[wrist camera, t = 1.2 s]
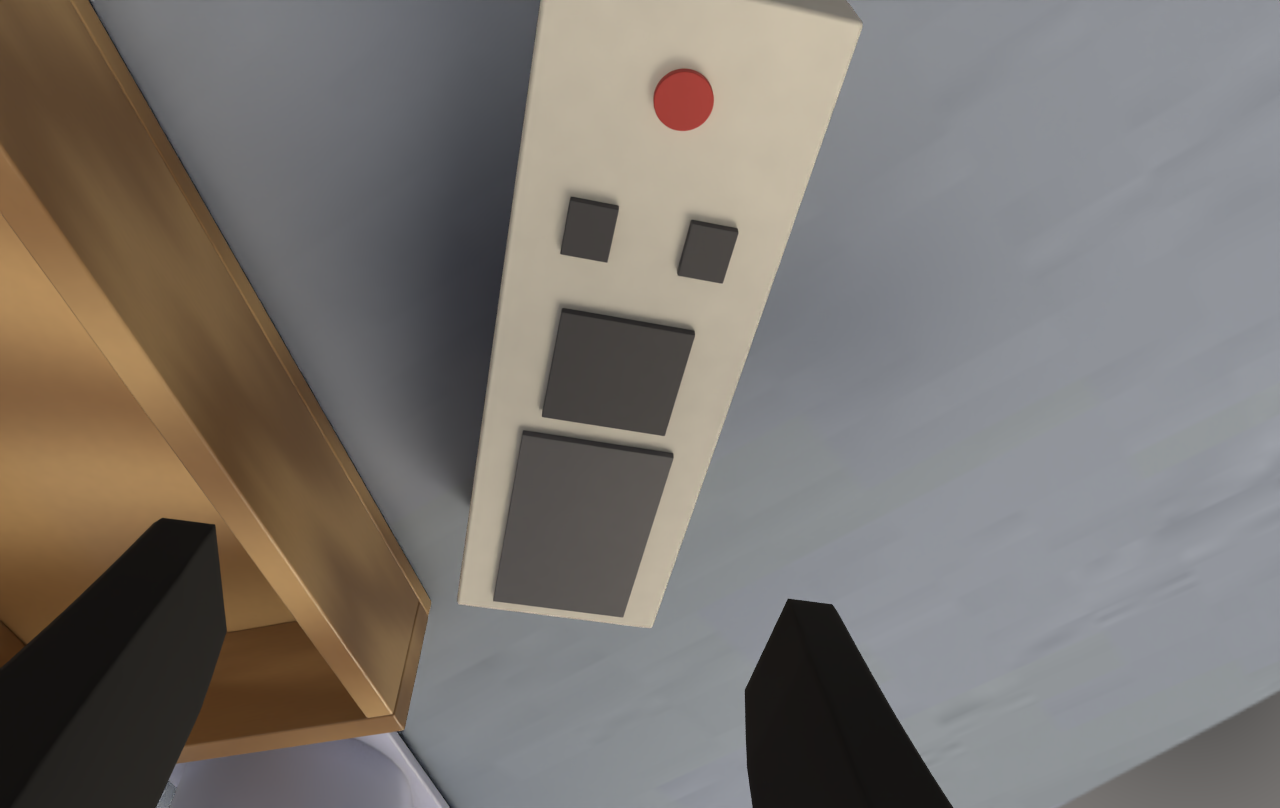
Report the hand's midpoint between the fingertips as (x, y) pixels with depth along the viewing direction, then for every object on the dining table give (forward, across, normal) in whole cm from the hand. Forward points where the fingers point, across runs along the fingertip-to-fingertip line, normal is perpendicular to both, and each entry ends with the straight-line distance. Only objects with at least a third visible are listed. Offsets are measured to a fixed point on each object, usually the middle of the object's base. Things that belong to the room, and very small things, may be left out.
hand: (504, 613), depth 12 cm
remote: (+9, -2, 0) cm, 9 cm away
